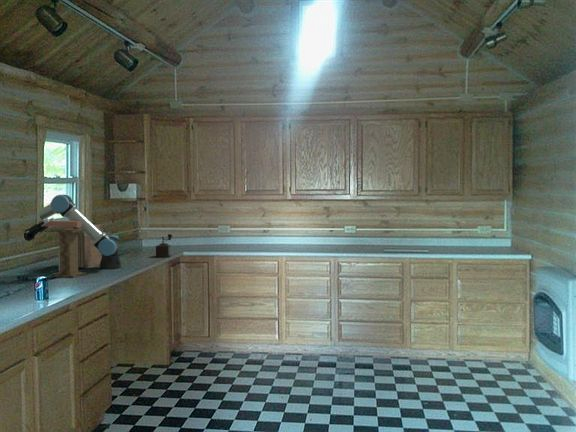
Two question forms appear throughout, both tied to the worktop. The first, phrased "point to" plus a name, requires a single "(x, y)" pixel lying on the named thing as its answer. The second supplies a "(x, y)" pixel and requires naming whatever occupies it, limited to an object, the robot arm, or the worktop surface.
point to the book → (88, 250)
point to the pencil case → (63, 223)
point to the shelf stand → (68, 253)
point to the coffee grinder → (164, 248)
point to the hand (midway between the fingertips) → (50, 219)
